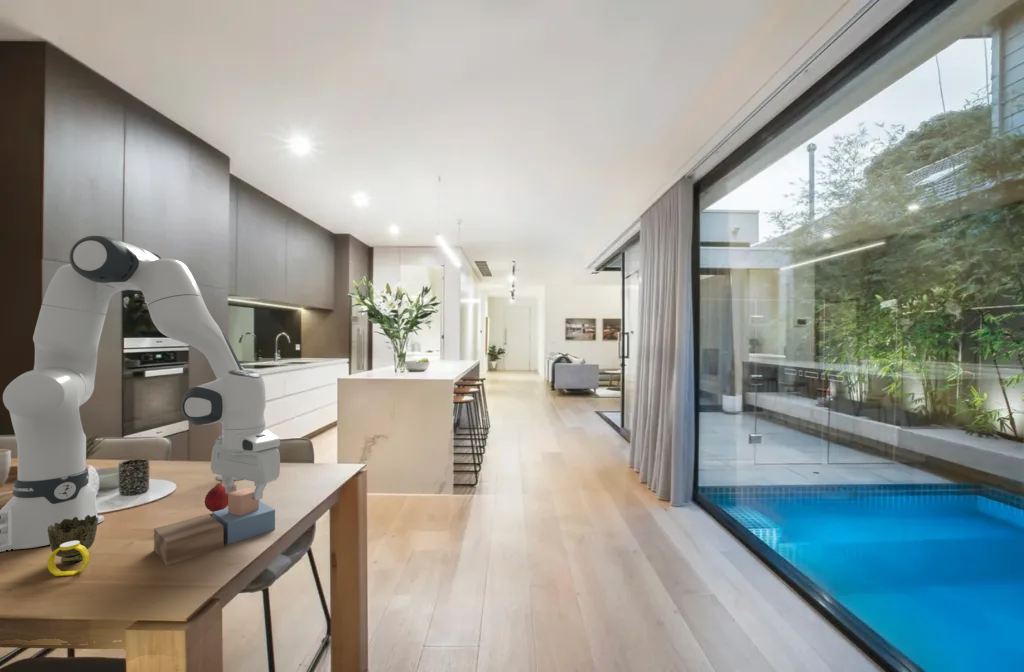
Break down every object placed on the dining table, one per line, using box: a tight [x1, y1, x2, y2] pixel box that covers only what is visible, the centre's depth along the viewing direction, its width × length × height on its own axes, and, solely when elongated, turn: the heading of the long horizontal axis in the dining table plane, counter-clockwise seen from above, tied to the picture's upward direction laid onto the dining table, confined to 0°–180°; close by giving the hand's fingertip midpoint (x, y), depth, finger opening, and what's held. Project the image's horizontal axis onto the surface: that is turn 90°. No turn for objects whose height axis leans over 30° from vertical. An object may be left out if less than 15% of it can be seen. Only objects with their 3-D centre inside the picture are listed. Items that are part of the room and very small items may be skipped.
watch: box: [46, 541, 90, 577], centre depth 85 cm, size 6×3×6 cm, turn 105°
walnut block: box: [153, 513, 224, 566], centre depth 96 cm, size 10×10×5 cm
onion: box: [204, 481, 228, 513], centre depth 115 cm, size 6×6×8 cm
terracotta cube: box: [227, 487, 260, 516], centre depth 105 cm, size 4×4×4 cm
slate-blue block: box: [212, 500, 276, 545], centre depth 105 cm, size 10×10×5 cm
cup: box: [48, 515, 99, 565], centre depth 91 cm, size 8×7×8 cm
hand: (243, 496), depth 105 cm, fingers open, 8 cm apart
